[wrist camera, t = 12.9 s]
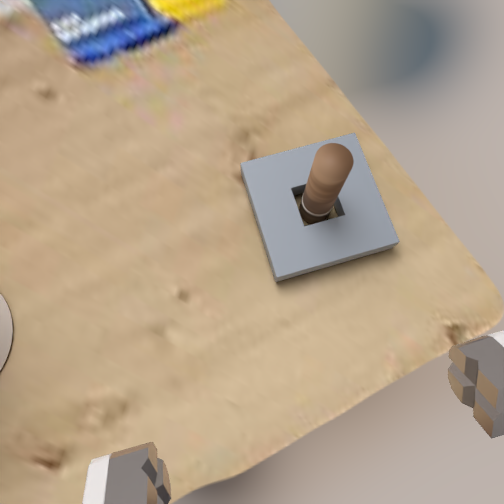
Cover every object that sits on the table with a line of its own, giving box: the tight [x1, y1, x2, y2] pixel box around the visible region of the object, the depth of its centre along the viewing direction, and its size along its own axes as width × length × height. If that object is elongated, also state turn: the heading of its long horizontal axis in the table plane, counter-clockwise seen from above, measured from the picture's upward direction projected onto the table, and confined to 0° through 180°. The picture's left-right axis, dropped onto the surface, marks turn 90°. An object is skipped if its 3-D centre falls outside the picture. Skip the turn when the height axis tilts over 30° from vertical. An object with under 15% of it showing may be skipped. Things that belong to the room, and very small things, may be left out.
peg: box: [299, 143, 354, 224], centre depth 42 cm, size 4×4×12 cm
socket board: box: [241, 133, 400, 282], centre depth 47 cm, size 14×14×2 cm
